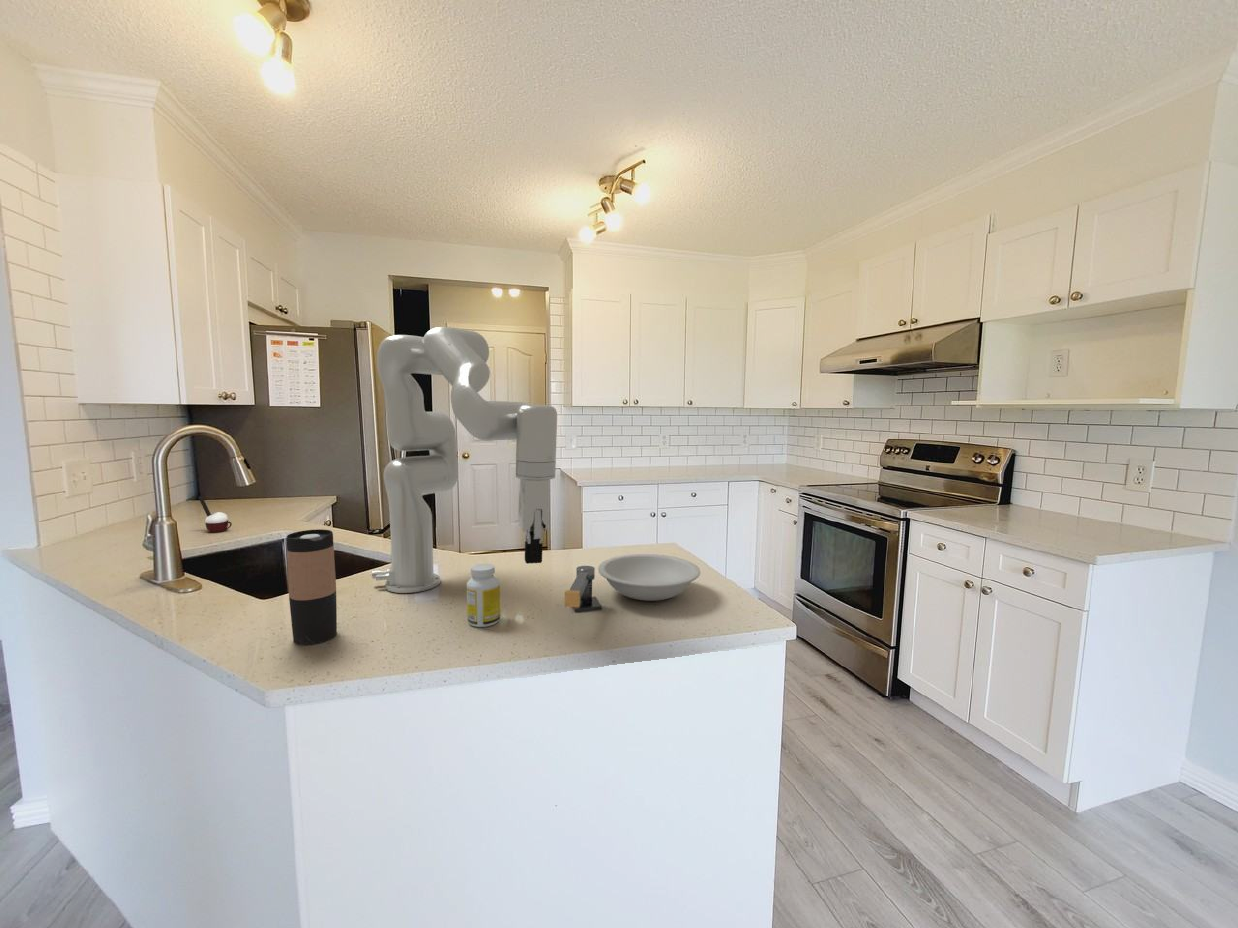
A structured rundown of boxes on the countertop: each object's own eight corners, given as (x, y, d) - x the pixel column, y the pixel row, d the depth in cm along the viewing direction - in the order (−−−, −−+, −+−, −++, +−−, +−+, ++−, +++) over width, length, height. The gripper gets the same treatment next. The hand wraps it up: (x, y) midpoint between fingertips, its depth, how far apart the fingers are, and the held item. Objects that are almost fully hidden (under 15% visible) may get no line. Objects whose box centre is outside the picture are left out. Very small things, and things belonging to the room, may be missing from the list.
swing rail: (578, 576, 116) (578, 563, 116) (595, 576, 116) (595, 564, 116) (561, 606, 98) (561, 592, 98) (582, 607, 98) (582, 593, 98)
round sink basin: (719, 594, 123) (720, 568, 122) (655, 624, 105) (656, 593, 105) (642, 572, 139) (643, 548, 138) (576, 594, 122) (576, 567, 121)
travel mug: (304, 628, 101) (299, 529, 99) (345, 627, 102) (340, 528, 100) (283, 646, 94) (276, 539, 92) (326, 645, 94) (321, 538, 92)
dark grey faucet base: (574, 612, 111) (574, 585, 110) (569, 602, 117) (569, 576, 116) (601, 609, 113) (601, 582, 112) (595, 599, 118) (595, 574, 118)
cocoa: (235, 531, 179) (235, 497, 178) (216, 535, 173) (216, 500, 172) (215, 528, 182) (215, 494, 181) (196, 531, 176) (196, 497, 175)
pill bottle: (506, 618, 108) (505, 564, 106) (488, 630, 102) (487, 573, 100) (479, 613, 110) (478, 560, 108) (460, 625, 104) (459, 569, 102)
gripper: (512, 463, 104) (510, 551, 107) (519, 475, 90) (517, 576, 93) (549, 464, 107) (546, 549, 109) (562, 476, 92) (558, 574, 95)
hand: (533, 561), depth 101 cm, fingers closed
